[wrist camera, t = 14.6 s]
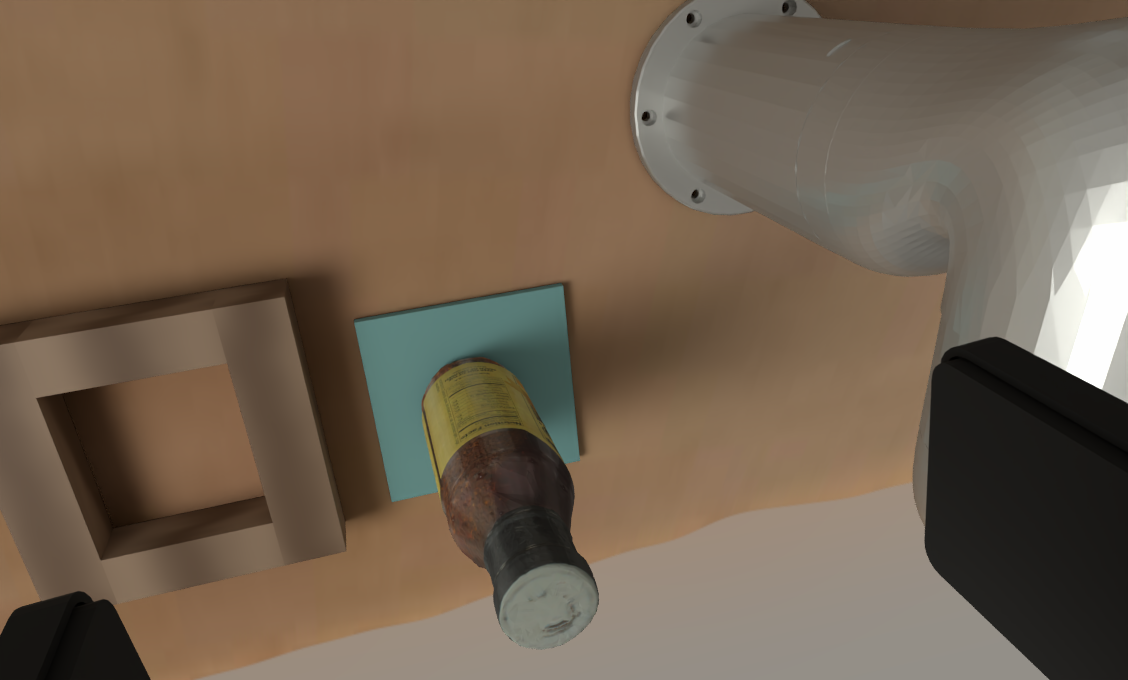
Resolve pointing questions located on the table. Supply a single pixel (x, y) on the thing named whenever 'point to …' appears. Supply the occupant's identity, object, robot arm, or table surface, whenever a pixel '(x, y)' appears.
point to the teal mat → (450, 333)
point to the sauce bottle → (508, 500)
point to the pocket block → (141, 350)
